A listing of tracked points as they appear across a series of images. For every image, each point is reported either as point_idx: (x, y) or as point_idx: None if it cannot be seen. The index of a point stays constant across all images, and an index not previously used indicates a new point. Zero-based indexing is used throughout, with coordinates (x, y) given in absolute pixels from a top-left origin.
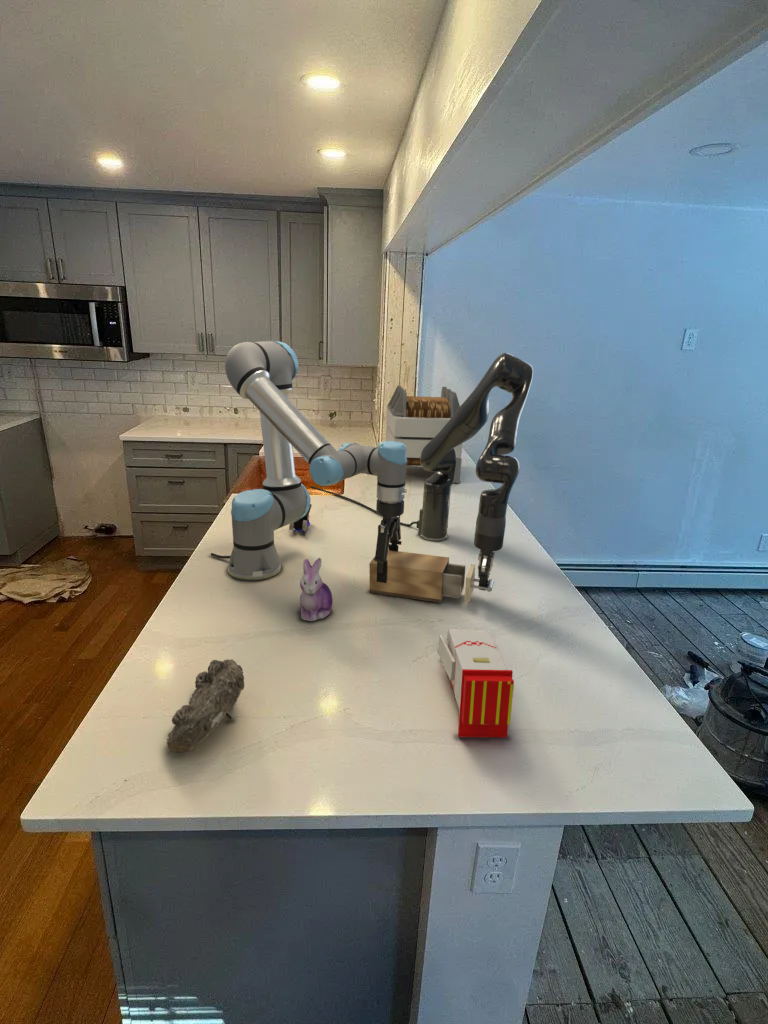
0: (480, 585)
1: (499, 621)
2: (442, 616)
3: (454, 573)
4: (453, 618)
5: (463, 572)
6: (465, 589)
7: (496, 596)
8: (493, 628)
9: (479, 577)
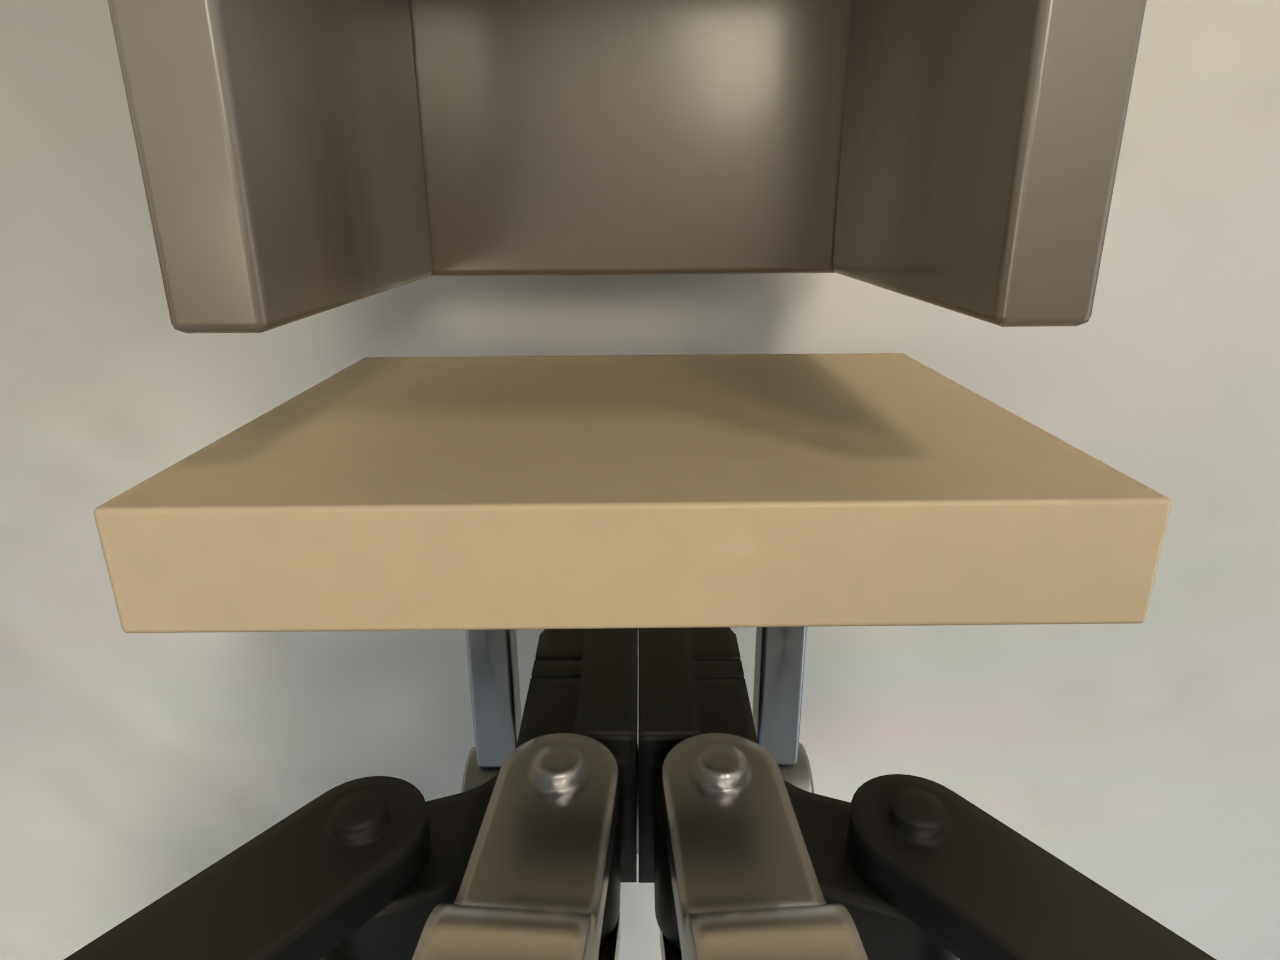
0: (537, 665)
1: (307, 747)
2: (7, 66)
3: (923, 3)
4: (55, 242)
5: (925, 265)
6: (266, 414)
7: (888, 662)
8: (125, 711)
9: (317, 823)
